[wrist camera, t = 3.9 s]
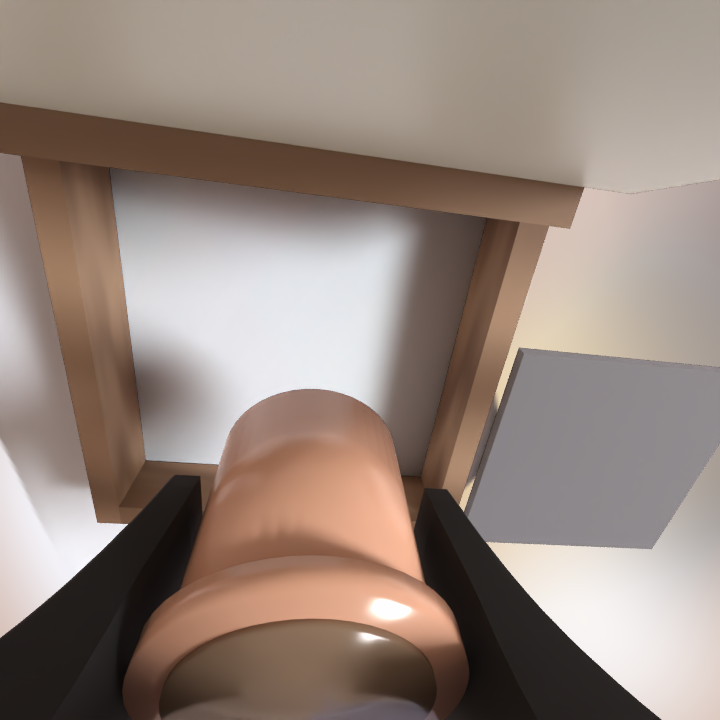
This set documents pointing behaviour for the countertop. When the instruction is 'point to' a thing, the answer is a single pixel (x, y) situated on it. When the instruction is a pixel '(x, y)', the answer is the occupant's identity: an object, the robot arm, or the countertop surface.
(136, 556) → the robot arm
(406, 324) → the countertop surface
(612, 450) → the slate mat
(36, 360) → the countertop surface
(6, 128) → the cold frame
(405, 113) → the frame lid
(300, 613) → the pot
